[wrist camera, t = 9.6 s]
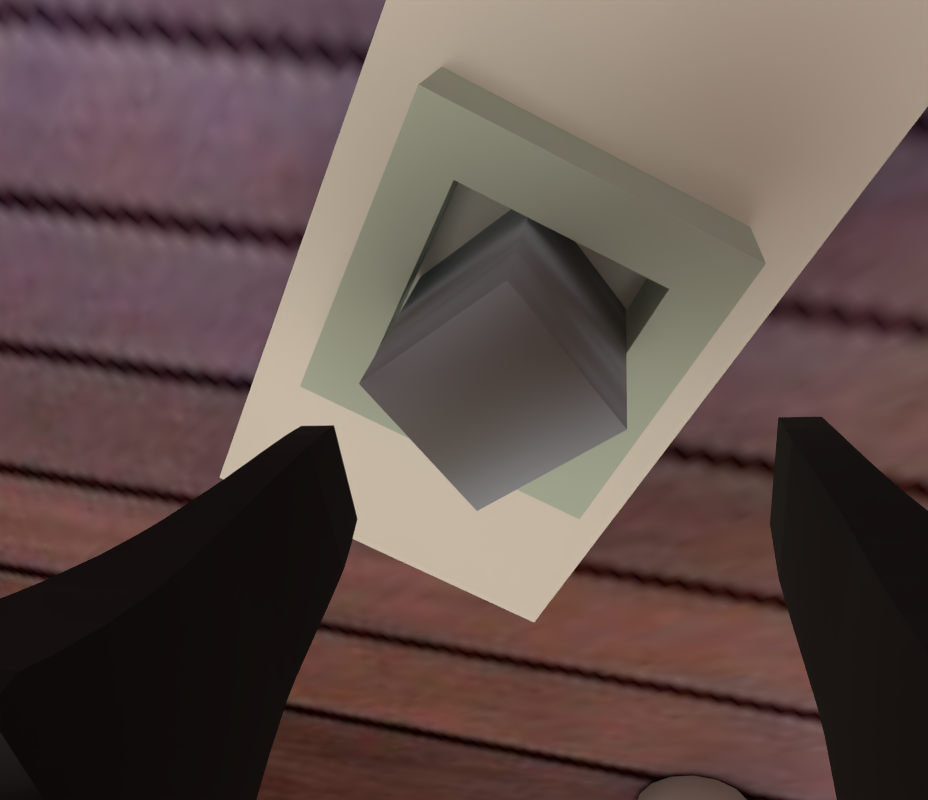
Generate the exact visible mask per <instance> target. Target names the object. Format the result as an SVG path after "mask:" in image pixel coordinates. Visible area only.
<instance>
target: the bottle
mask: <svg viewBox="0 0 928 800" xmlns="http://www.w3.org/2000/svg"><path fill="white" fill-rule="evenodd" d="M638 800H747V799H746V798H745V797H744V796H743V795H742V794H741V793H740V792H739V791H738V790H737V789H735V788H733V787H731V786H729V785H727V784H725V783H723V782H720V781H718V780H715V779H710V778H705V777H699V776H674V777H668V778H666V779H663V780H660V781H657V782H654V783H652V784H650V785H649V786H648V787H647V788H646V789H645V790H643V791H642V792H641V793H640V795H639V798H638Z"/></svg>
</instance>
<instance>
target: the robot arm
mask: <svg viewBox="0 0 928 800" xmlns="http://www.w3.org/2000/svg"><path fill="white" fill-rule="evenodd" d="M356 523H357V515H356V511H355V507H354V503H353V499H352V495H351V491H350V487H349V483H348V479H347V475H346V471H345V467H344V463H343V459H342V455H341V451H340V447H339V443H338V439H337V435H336V431H335V427H334V425H327V426H300V427H299V428H297V429H295V430H293V431H292V432H290V433H289V434H287V435H285V436H284V437H283V438H281V439H280V440H278V441H277V442H275V443H274V444H272V445H271V446H270V447H268V448H267V449H265V450H264V451H262V452H261V453H260V454H258V455H257V456H256V457H254V458H253V459H251V460H250V461H249V462H247V463H246V464H244V465H243V466H242V467H240V468H239V469H237V470H236V471H235V472H233V473H232V474H230V475H229V476H228V477H226V478H225V479H223V480H222V481H221V482H219V483H218V484H216V485H215V486H213V487H212V488H211V489H209V490H208V491H206V492H204V493H203V494H201V495H200V496H198V497H197V498H195V499H194V500H192V501H191V502H189V503H188V504H186V505H185V506H183V507H182V508H180V509H179V510H177V511H176V512H174V513H173V514H171V515H169V516H168V517H166V518H165V519H163V520H162V521H160V522H158V523H157V524H155V525H153V526H152V527H150V528H148V529H146V530H145V531H143V532H141V533H140V534H138V535H136V536H134V537H132V538H131V539H129V540H127V541H125V542H123V543H121V544H120V545H118V546H116V547H114V548H112V549H110V550H108V551H106V552H105V553H103V554H101V555H99V556H97V557H94V558H92V559H90V560H88V561H86V562H84V563H82V564H79V565H77V566H75V567H73V568H71V569H69V570H66V571H64V572H62V573H60V574H58V575H56V576H54V577H51V578H49V579H47V580H45V581H43V582H40V583H38V584H36V585H33V586H31V587H28V588H26V589H23V590H21V591H18V592H16V593H13V594H11V595H8V596H6V597H3V598H0V800H256V799H257V795H258V792H259V788H260V785H261V782H262V778H263V775H264V771H265V768H266V764H267V761H268V758H269V754H270V751H271V748H272V745H273V742H274V739H275V735H276V732H277V729H278V726H279V723H280V720H281V717H282V714H283V711H284V707H285V704H286V701H287V699H288V696H289V694H290V691H291V689H292V686H293V684H294V681H295V679H296V676H297V674H298V672H299V669H300V667H301V665H302V663H303V660H304V658H305V656H306V654H307V652H308V649H309V647H310V645H311V643H312V640H313V638H314V636H315V634H316V631H317V629H318V627H319V625H320V623H321V620H322V618H323V616H324V614H325V611H326V609H327V607H328V605H329V602H330V600H331V598H332V595H333V593H334V591H335V589H336V586H337V584H338V582H339V579H340V577H341V575H342V572H343V570H344V567H345V563H346V560H347V557H348V553H349V550H350V546H351V543H352V539H353V535H354V531H355V527H356ZM770 526H771V532H772V539H773V545H774V552H775V558H776V564H777V570H778V576H779V581H780V584H781V588H782V591H783V595H784V598H785V601H786V605H787V608H788V612H789V615H790V618H791V622H792V625H793V628H794V631H795V635H796V638H797V641H798V645H799V648H800V651H801V654H802V658H803V661H804V664H805V668H806V671H807V674H808V677H809V681H810V684H811V687H812V691H813V694H814V697H815V700H816V704H817V707H818V711H819V715H820V719H821V723H822V727H823V731H824V735H825V739H826V744H827V750H828V755H829V760H830V765H831V771H832V776H833V781H834V786H835V792H836V797H837V800H928V511H927V510H926V509H925V508H924V507H922V506H921V505H920V504H919V503H917V502H916V501H915V500H914V499H912V498H911V497H910V496H909V495H907V494H906V493H905V492H904V491H903V490H901V489H900V488H899V487H898V486H897V485H896V484H894V483H893V482H892V481H891V480H890V479H889V478H887V477H886V476H885V475H884V474H883V473H882V472H881V471H879V470H878V469H877V468H876V467H875V466H874V465H873V464H872V463H871V462H870V461H868V460H867V459H866V458H865V457H864V456H863V455H862V454H861V453H860V452H859V451H858V450H857V449H856V448H854V447H853V446H852V445H851V444H850V443H849V442H848V441H847V440H846V439H845V438H844V437H843V436H842V435H841V434H840V433H838V432H837V431H836V430H835V429H834V428H833V427H832V426H831V425H830V424H829V423H828V422H827V421H826V420H825V419H823V418H822V417H784V418H778V430H777V443H776V456H775V468H774V481H773V493H772V506H771V518H770Z"/></svg>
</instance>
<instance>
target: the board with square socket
mask: <svg viewBox="0 0 928 800" xmlns="http://www.w3.org/2000/svg"><path fill="white" fill-rule="evenodd" d="M927 107H928V0H386V2H385V5H384V8H383V10H382V13H381V16H380V19H379V22H378V25H377V28H376V31H375V33H374V36H373V39H372V42H371V45H370V48H369V51H368V53H367V56H366V59H365V62H364V65H363V68H362V71H361V74H360V76H359V79H358V82H357V85H356V88H355V91H354V94H353V96H352V99H351V102H350V105H349V108H348V111H347V114H346V117H345V119H344V122H343V125H342V128H341V131H340V134H339V137H338V139H337V142H336V145H335V148H334V151H333V154H332V157H331V160H330V162H329V165H328V168H327V171H326V174H325V177H324V180H323V182H322V185H321V188H320V191H319V194H318V197H317V200H316V203H315V205H314V208H313V211H312V214H311V217H310V220H309V223H308V225H307V228H306V231H305V234H304V237H303V240H302V243H301V246H300V248H299V251H298V254H297V257H296V260H295V263H294V266H293V268H292V271H291V274H290V277H289V280H288V283H287V286H286V288H285V291H284V294H283V297H282V300H281V303H280V306H279V309H278V311H277V314H276V317H275V320H274V323H273V326H272V329H271V331H270V334H269V337H268V340H267V343H266V346H265V349H264V352H263V354H262V357H261V360H260V363H259V366H258V369H257V372H256V374H255V377H254V380H253V383H252V386H251V389H250V392H249V395H248V397H247V400H246V403H245V406H244V409H243V412H242V415H241V417H240V420H239V423H238V426H237V429H236V432H235V435H234V438H233V440H232V443H231V446H230V449H229V452H228V455H227V458H226V460H225V463H224V466H223V469H222V472H221V475H220V478H222V479H225V478H226V477H228V476H229V475H230V474H232V473H233V472H235V471H236V470H237V469H239V468H240V467H242V466H243V465H244V464H246V463H247V462H249V461H250V460H251V459H253V458H254V457H256V456H257V455H258V454H260V453H261V452H262V451H264V450H265V449H267V448H268V447H270V446H271V445H272V444H274V443H275V442H277V441H278V440H280V439H281V438H283V437H284V436H285V435H287V434H289V433H290V432H292V431H293V430H295V429H297V428H299V427H300V426H327V425H334V427H335V431H336V435H337V439H338V443H339V447H340V451H341V455H342V459H343V463H344V467H345V471H346V475H347V479H348V483H349V487H350V491H351V495H352V499H353V503H354V507H355V511H356V515H357V523H356V527H355V531H354V535H353V539H354V540H356V541H359V542H361V543H363V544H365V545H367V546H369V547H372V548H374V549H376V550H378V551H380V552H382V553H385V554H387V555H389V556H391V557H393V558H395V559H398V560H400V561H402V562H404V563H406V564H408V565H411V566H413V567H415V568H417V569H419V570H421V571H424V572H426V573H428V574H430V575H432V576H434V577H437V578H439V579H441V580H443V581H445V582H447V583H450V584H452V585H454V586H456V587H458V588H460V589H463V590H465V591H467V592H469V593H471V594H473V595H476V596H478V597H480V598H482V599H484V600H486V601H489V602H491V603H493V604H495V605H497V606H499V607H502V608H504V609H506V610H508V611H510V612H512V613H515V614H517V615H519V616H521V617H523V618H525V619H528V620H530V621H532V622H535V620H536V619H537V618H538V617H539V615H540V614H541V613H542V611H543V610H544V609H545V607H546V606H547V605H548V603H549V602H550V601H551V599H552V598H553V597H554V596H555V594H556V593H557V592H558V590H559V589H560V588H561V586H562V585H563V584H564V582H565V581H566V580H567V579H568V577H569V576H570V575H571V573H572V572H573V571H574V569H575V568H576V567H577V565H578V564H579V563H580V561H581V560H582V559H583V558H584V556H585V555H586V554H587V552H588V551H589V550H590V548H591V547H592V546H593V544H594V543H595V542H596V540H597V539H598V538H599V537H600V535H601V534H602V533H603V531H604V530H605V529H606V527H607V526H608V525H609V523H610V522H611V521H612V520H613V518H614V517H615V516H616V514H617V513H618V512H619V510H620V509H621V508H622V506H623V505H624V504H625V502H626V501H627V500H628V499H629V497H630V496H631V495H632V493H633V492H634V491H635V489H636V488H637V487H638V485H639V484H640V483H641V482H642V480H643V479H644V478H645V476H646V475H647V474H648V472H649V471H650V470H651V468H652V467H653V466H654V464H655V463H656V462H657V461H658V459H659V458H660V457H661V455H662V454H663V453H664V451H665V450H666V449H667V447H668V446H669V445H670V443H671V442H672V441H673V440H674V438H675V437H676V436H677V434H678V433H679V432H680V430H681V429H682V428H683V426H684V425H685V424H686V423H687V421H688V420H689V419H690V417H691V416H692V415H693V413H694V412H695V411H696V409H697V408H698V407H699V405H700V404H701V403H702V402H703V400H704V399H705V398H706V396H707V395H708V394H709V392H710V391H711V390H712V388H713V387H714V386H715V384H716V383H717V382H718V381H719V379H720V378H721V377H722V375H723V374H724V373H725V371H726V370H727V369H728V367H729V366H730V365H731V364H732V362H733V361H734V360H735V358H736V357H737V356H738V354H739V353H740V352H741V350H742V349H743V348H744V346H745V345H746V344H747V343H748V341H749V340H750V339H751V337H752V336H753V335H754V333H755V332H756V331H757V329H758V328H759V327H760V326H761V324H762V323H763V322H764V320H765V319H766V318H767V316H768V315H769V314H770V312H771V311H772V310H773V308H774V307H775V306H776V305H777V303H778V302H779V301H780V299H781V298H782V297H783V295H784V294H785V293H786V291H787V290H788V289H789V287H790V286H791V285H792V284H793V282H794V281H795V280H796V278H797V277H798V276H799V274H800V273H801V272H802V270H803V269H804V268H805V267H806V265H807V264H808V263H809V261H810V260H811V259H812V257H813V256H814V255H815V253H816V252H817V251H818V249H819V248H820V247H821V246H822V244H823V243H824V242H825V240H826V239H827V238H828V236H829V235H830V234H831V232H832V231H833V230H834V228H835V227H836V226H837V225H838V223H839V222H840V221H841V219H842V218H843V217H844V215H845V214H846V213H847V211H848V210H849V209H850V208H851V206H852V205H853V204H854V202H855V201H856V200H857V198H858V197H859V196H860V194H861V193H862V192H863V190H864V189H865V188H866V187H867V185H868V184H869V183H870V181H871V180H872V179H873V177H874V176H875V175H876V173H877V172H878V171H879V170H880V168H881V167H882V166H883V164H884V163H885V162H886V160H887V159H888V158H889V156H890V155H891V154H892V152H893V151H894V150H895V149H896V147H897V146H898V145H899V143H900V142H901V141H902V139H903V138H904V137H905V135H906V134H907V133H908V131H909V130H910V129H911V128H912V126H913V125H914V124H915V122H916V121H917V120H918V118H919V117H920V116H921V114H922V113H923V112H924V111H925V109H926V108H927ZM511 209H512V210H514V211H516V212H518V213H520V214H522V215H524V216H526V217H528V218H530V219H532V220H534V221H536V222H538V223H540V224H542V225H544V226H546V227H548V228H550V229H552V230H554V231H556V232H558V233H560V234H562V235H564V236H566V237H568V238H570V239H571V240H573V241H575V242H576V243H577V245H578V246H579V247H580V249H581V250H582V251H583V253H584V254H585V255H586V257H587V258H588V259H589V261H590V262H591V263H592V264H593V266H594V267H595V268H596V270H597V271H598V272H599V274H600V275H601V276H602V278H603V279H604V280H605V282H606V283H607V284H608V286H609V287H610V288H611V290H612V291H613V292H614V294H615V295H616V296H617V298H618V299H619V300H620V302H621V303H622V304H623V306H624V307H625V308H626V367H627V430H625V431H623V432H622V433H620V434H618V435H616V436H614V437H612V438H611V439H609V440H607V441H605V442H603V443H601V444H600V445H598V446H596V447H594V448H592V449H590V450H588V451H587V452H585V453H583V454H581V455H579V456H577V457H576V458H574V459H572V460H570V461H568V462H566V463H565V464H563V465H561V466H559V467H557V468H555V469H554V470H552V471H550V472H548V473H546V474H544V475H542V476H541V477H539V478H537V479H535V480H533V481H531V482H530V483H528V484H526V485H524V486H522V487H520V488H519V489H517V490H515V491H513V492H511V493H509V494H508V495H506V496H504V497H502V498H500V499H498V500H497V501H495V502H493V503H491V504H489V505H487V506H485V507H484V508H482V509H480V510H478V511H476V510H475V509H474V507H473V506H472V505H471V504H470V503H469V502H468V501H467V500H466V499H465V498H464V497H463V496H462V495H461V493H460V492H459V491H458V490H457V489H456V488H455V487H454V486H453V485H452V484H451V483H450V482H449V480H448V479H447V478H446V477H445V476H444V475H443V474H442V473H441V472H440V471H439V470H438V469H437V468H436V466H435V465H434V464H433V463H432V462H431V461H430V460H429V459H428V458H427V457H426V456H425V455H424V453H423V452H422V451H421V450H420V449H419V448H418V447H417V446H416V445H415V444H414V443H413V442H412V441H411V439H410V438H409V437H408V436H407V435H406V434H405V433H404V432H403V431H402V430H401V429H400V428H399V427H398V425H397V424H396V423H395V422H394V421H393V420H392V419H391V418H390V417H389V416H388V415H387V414H386V412H385V411H384V410H383V409H382V408H381V407H380V406H379V405H378V404H377V403H376V402H375V401H374V400H373V398H372V397H371V396H370V395H369V394H368V393H367V392H366V391H365V390H364V389H363V388H362V387H361V386H360V384H359V382H360V381H361V379H362V377H363V375H364V374H365V372H366V370H367V369H368V367H369V365H370V363H371V362H372V360H373V358H374V356H375V355H376V353H377V351H378V350H379V348H380V346H381V344H382V343H383V341H384V339H385V337H386V336H387V334H388V332H389V330H390V329H391V327H392V325H393V324H394V322H395V320H396V318H397V317H398V315H399V313H400V311H401V310H402V308H403V306H404V305H405V303H406V301H407V299H408V298H409V296H410V294H411V292H412V291H413V289H414V287H415V285H416V284H417V282H418V280H419V279H420V277H421V276H422V275H424V274H425V273H426V272H428V271H429V270H430V269H432V268H433V267H434V266H436V265H437V264H438V263H440V262H441V261H442V260H444V259H445V258H446V257H448V256H449V255H450V254H452V253H453V252H454V251H456V250H457V249H458V248H460V247H461V246H463V245H464V244H465V243H467V242H468V241H469V240H471V239H472V238H473V237H475V236H476V235H477V234H479V233H480V232H481V231H483V230H484V229H485V228H487V227H488V226H489V225H491V224H492V223H493V222H495V221H496V220H497V219H499V218H500V217H501V216H503V215H504V214H505V213H507V212H508V211H509V210H511Z"/></svg>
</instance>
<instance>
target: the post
mask: <svg viewBox="0 0 928 800" xmlns="http://www.w3.org/2000/svg"><path fill="white" fill-rule="evenodd" d="M359 384H360V386H361V387H362V388H363V389H364V390H365V391H366V392H367V393H368V394H369V395H370V396H371V397H372V398H373V400H374V401H375V402H376V403H377V404H378V405H379V406H380V407H381V408H382V409H383V410H384V411H385V412H386V414H387V415H388V416H389V417H390V418H391V419H392V420H393V421H394V422H395V423H396V424H397V425H398V427H399V428H400V429H401V430H402V431H403V432H404V433H405V434H406V435H407V436H408V437H409V438H410V439H411V441H412V442H413V443H414V444H415V445H416V446H417V447H418V448H419V449H420V450H421V451H422V452H423V453H424V455H425V456H426V457H427V458H428V459H429V460H430V461H431V462H432V463H433V464H434V465H435V466H436V468H437V469H438V470H439V471H440V472H441V473H442V474H443V475H444V476H445V477H446V478H447V479H448V480H449V482H450V483H451V484H452V485H453V486H454V487H455V488H456V489H457V490H458V491H459V492H460V493H461V495H462V496H463V497H464V498H465V499H466V500H467V501H468V502H469V503H470V504H471V505H472V506H473V507H474V509H475V510H476V511H478V510H480V509H482V508H484V507H485V506H487V505H489V504H491V503H493V502H495V501H497V500H498V499H500V498H502V497H504V496H506V495H508V494H509V493H511V492H513V491H515V490H517V489H519V488H520V487H522V486H524V485H526V484H528V483H530V482H531V481H533V480H535V479H537V478H539V477H541V476H542V475H544V474H546V473H548V472H550V471H552V470H554V469H555V468H557V467H559V466H561V465H563V464H565V463H566V462H568V461H570V460H572V459H574V458H576V457H577V456H579V455H581V454H583V453H585V452H587V451H588V450H590V449H592V448H594V447H596V446H598V445H600V444H601V443H603V442H605V441H607V440H609V439H611V438H612V437H614V436H616V435H618V434H620V433H622V432H623V431H625V430H627V367H626V308H625V307H624V306H623V304H622V303H621V302H620V300H619V299H618V298H617V296H616V295H615V294H614V292H613V291H612V290H611V288H610V287H609V286H608V284H607V283H606V282H605V280H604V279H603V278H602V276H601V275H600V274H599V272H598V271H597V270H596V268H595V267H594V266H593V264H592V263H591V262H590V261H589V259H588V258H587V257H586V255H585V254H584V253H583V251H582V250H581V249H580V247H579V246H578V245H577V243H576V242H575V241H573V240H571V239H570V238H568V237H566V236H564V235H562V234H560V233H558V232H556V231H554V230H552V229H550V228H548V227H546V226H544V225H542V224H540V223H538V222H536V221H534V220H532V219H530V218H528V217H526V216H524V215H522V214H520V213H518V212H516V211H514V210H512V209H511V210H509V211H508V212H507V213H505V214H504V215H503V216H501V217H500V218H499V219H497V220H496V221H495V222H493V223H492V224H491V225H489V226H488V227H487V228H485V229H484V230H483V231H481V232H480V233H479V234H477V235H476V236H475V237H473V238H472V239H471V240H469V241H468V242H467V243H465V244H464V245H463V246H461V247H460V248H458V249H457V250H456V251H454V252H453V253H452V254H450V255H449V256H448V257H446V258H445V259H444V260H442V261H441V262H440V263H438V264H437V265H436V266H434V267H433V268H432V269H430V270H429V271H428V272H426V273H425V274H424V275H422V276H421V277H420V279H419V280H418V282H417V284H416V285H415V287H414V289H413V291H412V292H411V294H410V296H409V298H408V299H407V301H406V303H405V305H404V306H403V308H402V310H401V311H400V313H399V315H398V317H397V318H396V320H395V322H394V324H393V325H392V327H391V329H390V330H389V332H388V334H387V336H386V337H385V339H384V341H383V343H382V344H381V346H380V348H379V350H378V351H377V353H376V355H375V356H374V358H373V360H372V362H371V363H370V365H369V367H368V369H367V370H366V372H365V374H364V375H363V377H362V379H361V381H360V382H359Z"/></svg>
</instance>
